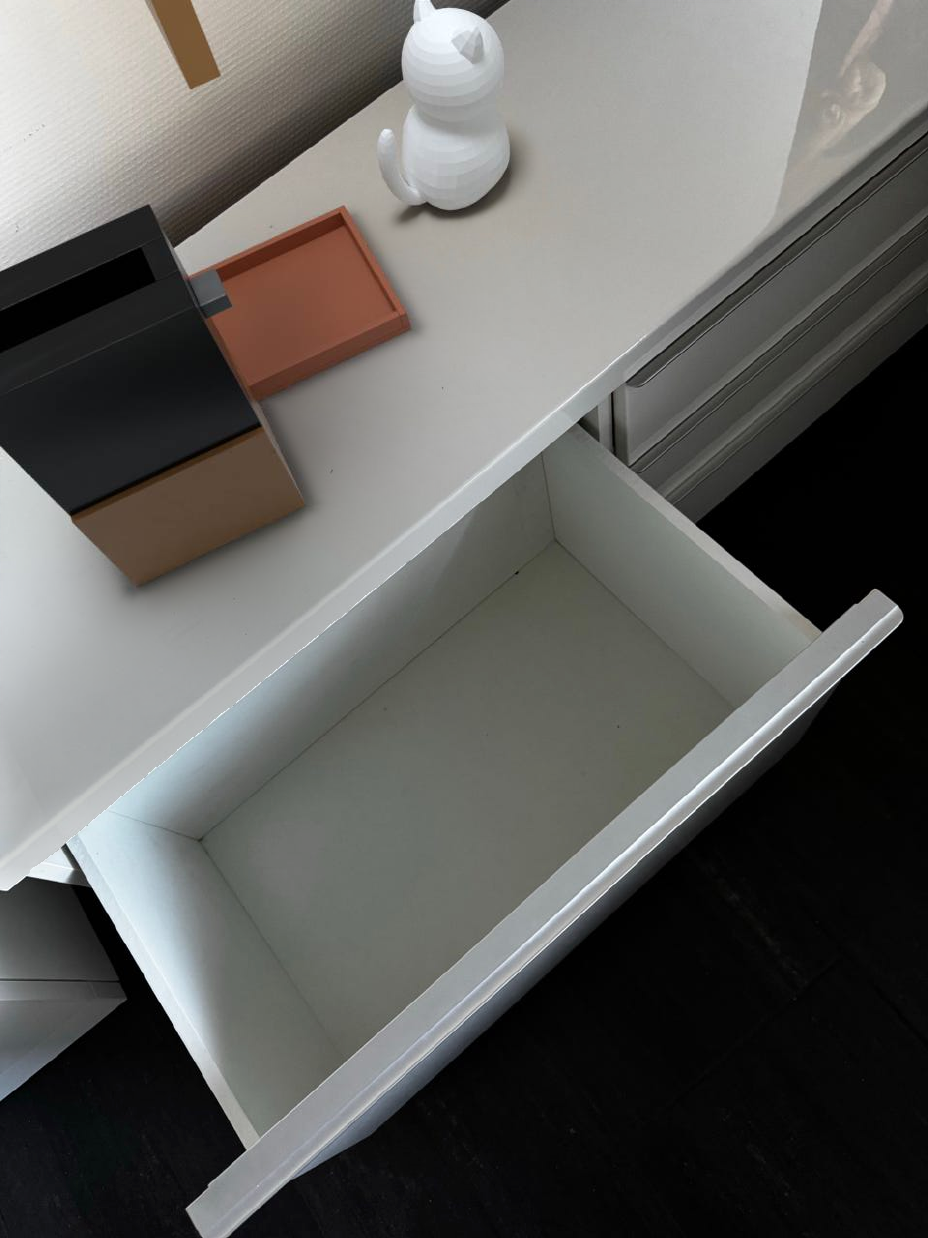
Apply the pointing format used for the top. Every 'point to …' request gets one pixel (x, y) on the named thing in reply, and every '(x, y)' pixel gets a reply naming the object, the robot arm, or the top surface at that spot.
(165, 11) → the toast
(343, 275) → the tray
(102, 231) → the toaster
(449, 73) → the cat figurine
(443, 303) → the top surface
